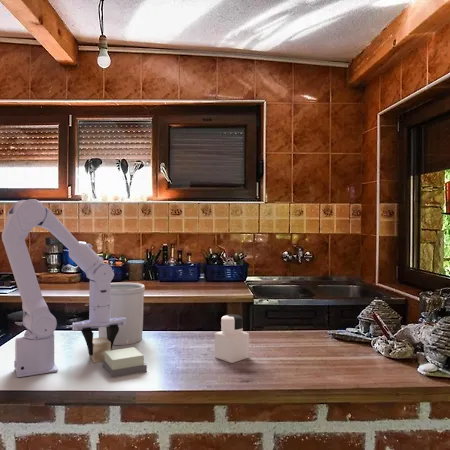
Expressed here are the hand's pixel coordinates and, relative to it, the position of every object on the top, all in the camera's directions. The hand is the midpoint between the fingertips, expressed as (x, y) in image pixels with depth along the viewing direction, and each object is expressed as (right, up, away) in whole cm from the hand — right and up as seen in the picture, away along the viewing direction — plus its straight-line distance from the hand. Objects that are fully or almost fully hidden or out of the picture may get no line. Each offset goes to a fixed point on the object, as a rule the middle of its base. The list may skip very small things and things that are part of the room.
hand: (99, 353), depth 125 cm
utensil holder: (+2, -1, +19) cm, 19 cm away
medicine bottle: (+37, -2, +1) cm, 37 cm away
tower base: (+9, -2, -9) cm, 13 cm away
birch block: (0, -1, 0) cm, 1 cm away
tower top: (+9, 0, -9) cm, 12 cm away
